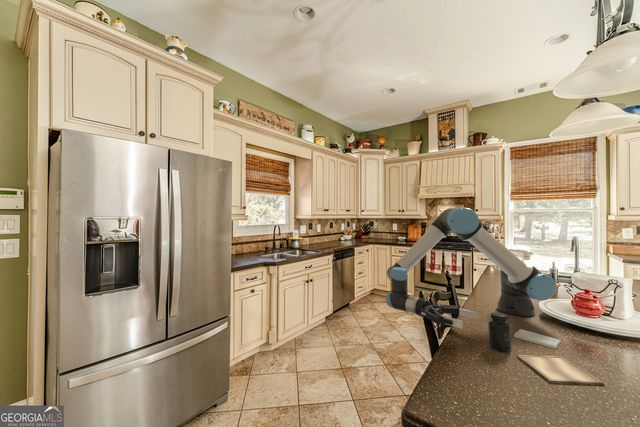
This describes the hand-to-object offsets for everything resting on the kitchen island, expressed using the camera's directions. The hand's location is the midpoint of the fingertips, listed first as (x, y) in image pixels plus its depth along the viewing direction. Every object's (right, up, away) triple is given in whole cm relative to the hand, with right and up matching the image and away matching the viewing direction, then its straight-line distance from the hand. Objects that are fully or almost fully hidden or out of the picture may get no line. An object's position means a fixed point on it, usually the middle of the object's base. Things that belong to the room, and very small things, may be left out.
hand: (470, 320), depth 102 cm
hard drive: (+25, -8, -1) cm, 26 cm away
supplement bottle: (+6, -7, -8) cm, 12 cm away
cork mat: (+14, -7, -21) cm, 26 cm away
